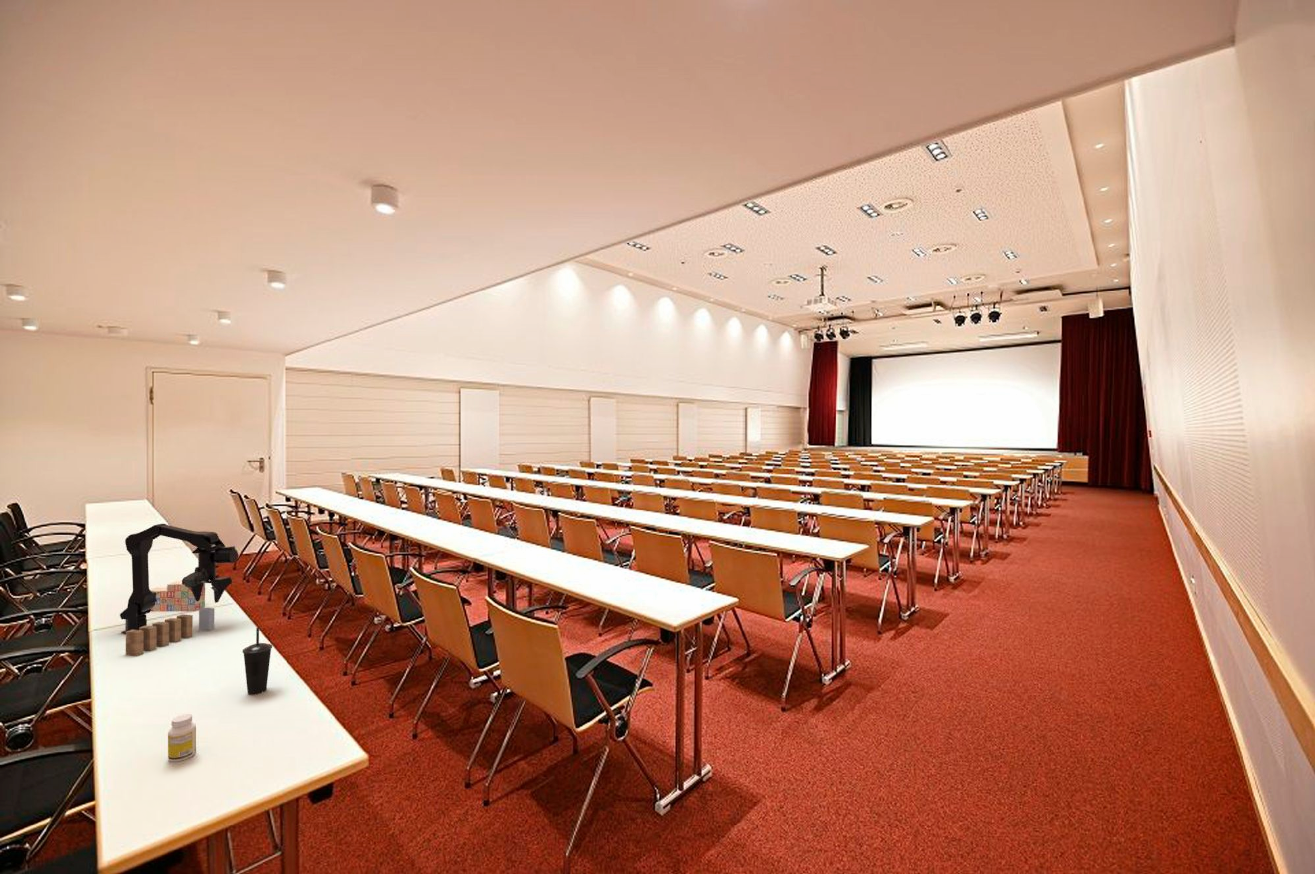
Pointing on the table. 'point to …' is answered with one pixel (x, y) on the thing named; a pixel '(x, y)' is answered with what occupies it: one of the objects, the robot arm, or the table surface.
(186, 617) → the domino
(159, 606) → the stack of blocks
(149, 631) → the domino
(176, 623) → the domino
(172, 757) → the supplement bottle
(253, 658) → the drinking cup
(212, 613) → the slate domino
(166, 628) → the domino
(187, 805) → the table surface
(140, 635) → the domino
